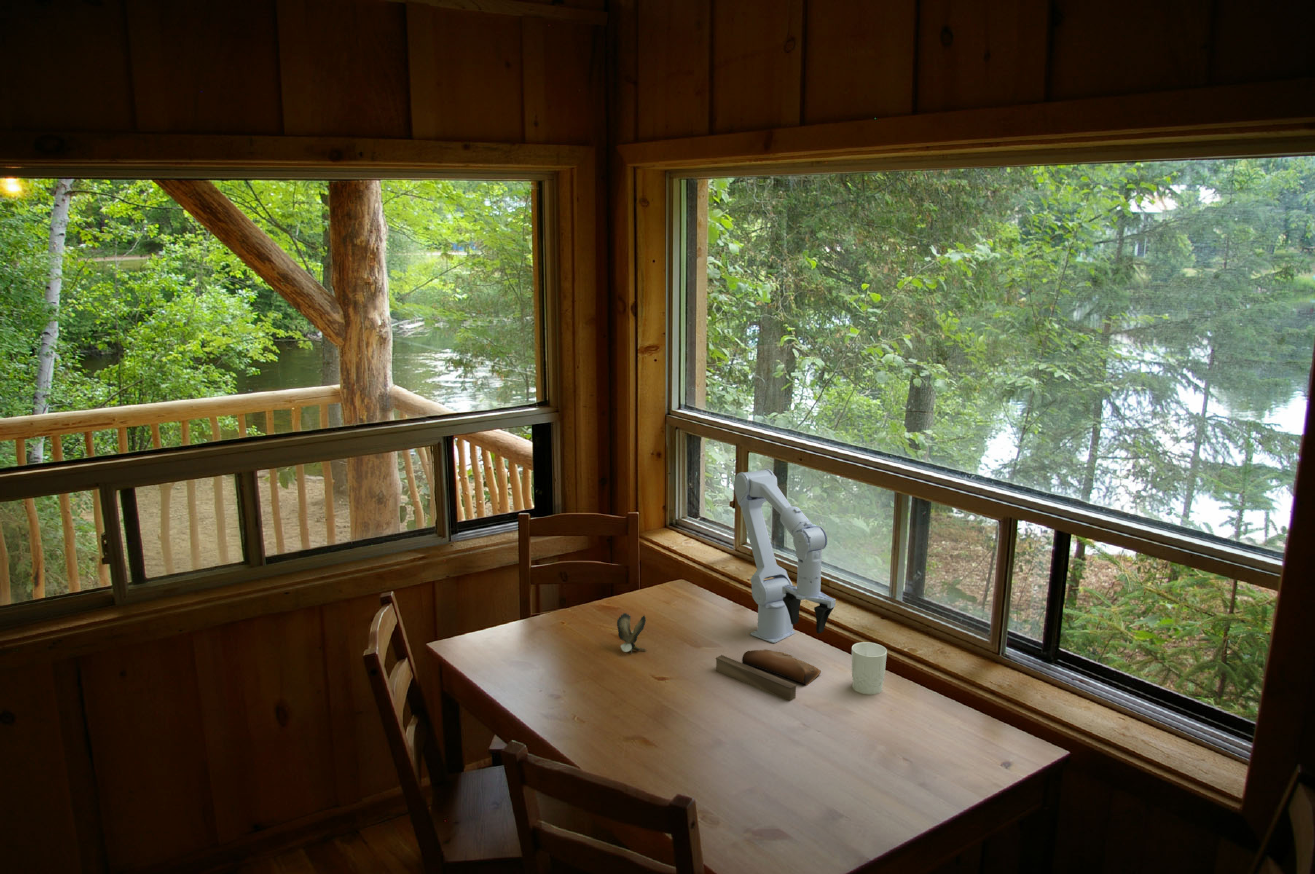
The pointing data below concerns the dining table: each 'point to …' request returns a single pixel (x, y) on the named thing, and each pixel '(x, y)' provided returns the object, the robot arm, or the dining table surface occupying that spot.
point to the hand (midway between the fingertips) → (807, 627)
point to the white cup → (868, 667)
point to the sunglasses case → (781, 665)
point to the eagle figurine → (629, 632)
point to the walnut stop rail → (756, 677)
